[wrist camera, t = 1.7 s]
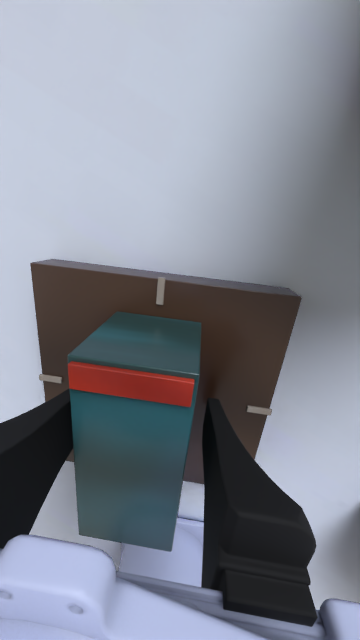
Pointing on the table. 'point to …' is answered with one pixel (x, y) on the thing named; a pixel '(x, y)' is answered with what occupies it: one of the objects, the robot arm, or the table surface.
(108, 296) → the clock
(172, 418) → the teal block red stripe
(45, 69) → the table surface
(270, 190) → the table surface
